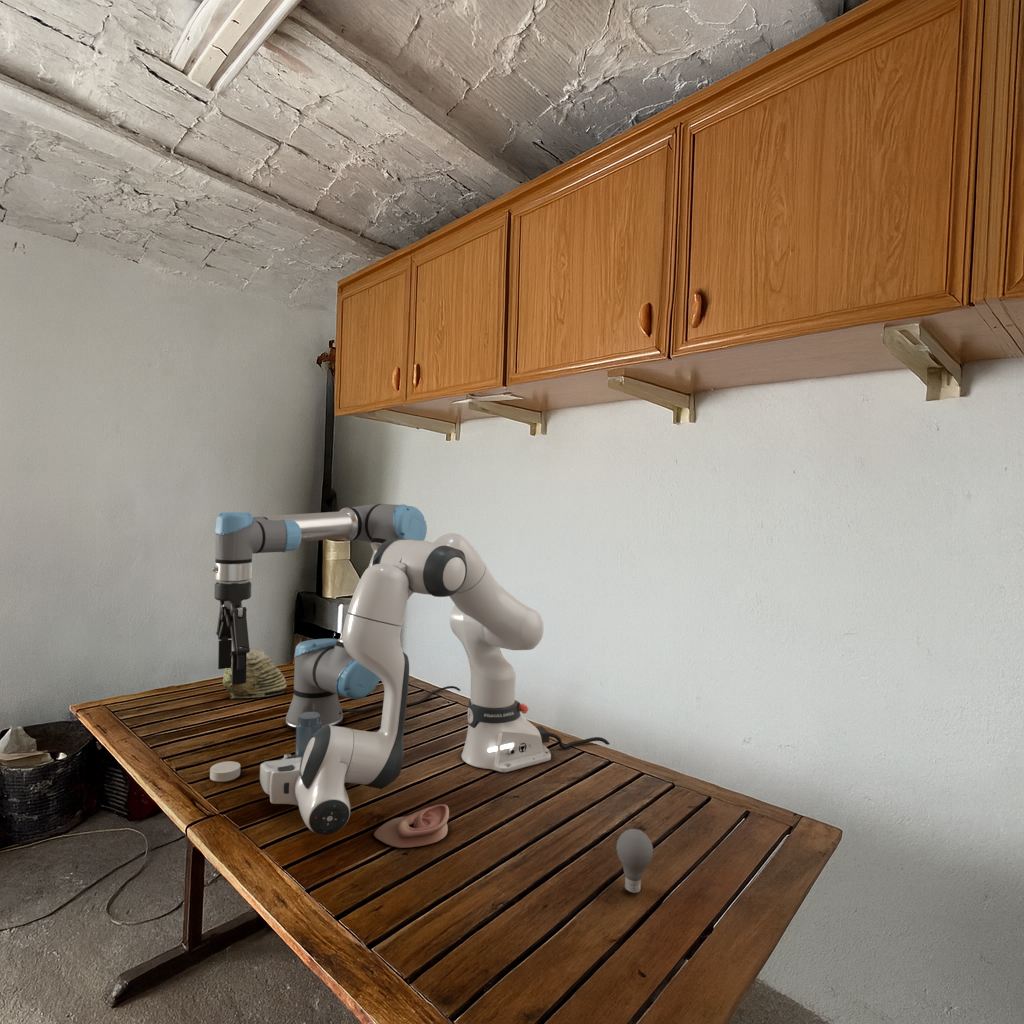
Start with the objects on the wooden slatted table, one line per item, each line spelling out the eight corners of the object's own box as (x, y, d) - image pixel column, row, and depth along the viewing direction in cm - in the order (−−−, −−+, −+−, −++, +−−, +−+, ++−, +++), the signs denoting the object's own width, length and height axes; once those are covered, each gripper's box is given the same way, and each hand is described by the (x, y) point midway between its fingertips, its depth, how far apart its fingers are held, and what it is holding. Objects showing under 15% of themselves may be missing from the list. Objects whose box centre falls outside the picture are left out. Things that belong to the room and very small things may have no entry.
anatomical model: (367, 821, 116) (391, 793, 128) (366, 843, 116) (391, 813, 128) (436, 832, 114) (455, 803, 125) (435, 854, 114) (454, 822, 125)
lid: (213, 784, 137) (213, 775, 137) (207, 773, 142) (207, 765, 142) (243, 777, 141) (243, 768, 141) (236, 767, 146) (236, 759, 146)
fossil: (218, 695, 195) (220, 647, 195) (278, 685, 208) (279, 640, 207) (228, 703, 189) (230, 653, 188) (289, 692, 201) (290, 645, 201)
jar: (315, 777, 143) (318, 709, 142) (321, 787, 138) (324, 717, 138) (291, 782, 140) (294, 712, 140) (296, 792, 135) (299, 720, 135)
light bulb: (610, 879, 108) (613, 822, 108) (644, 879, 109) (647, 822, 109) (619, 902, 102) (622, 840, 102) (655, 901, 103) (658, 840, 103)
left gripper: (203, 575, 149) (202, 664, 150) (228, 590, 129) (226, 693, 130) (237, 573, 153) (236, 660, 154) (266, 588, 133) (264, 688, 134)
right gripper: (368, 758, 132) (355, 735, 144) (263, 773, 123) (258, 746, 135) (367, 788, 132) (354, 762, 144) (262, 805, 123) (257, 775, 135)
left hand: (231, 675), depth 142 cm, fingers open, 13 cm apart
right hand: (307, 755), depth 140 cm, fingers open, 7 cm apart
